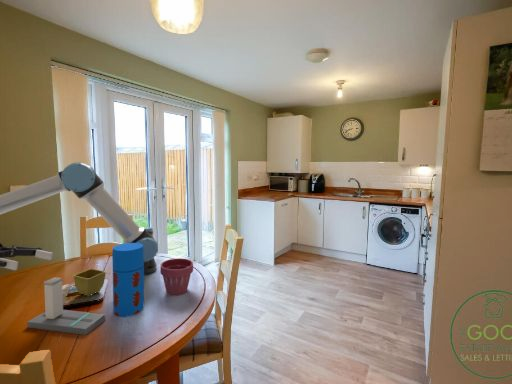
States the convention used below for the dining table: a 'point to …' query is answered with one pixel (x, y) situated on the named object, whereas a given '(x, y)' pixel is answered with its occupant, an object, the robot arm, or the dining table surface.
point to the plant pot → (176, 275)
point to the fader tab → (53, 297)
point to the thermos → (128, 279)
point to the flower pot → (89, 281)
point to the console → (68, 322)
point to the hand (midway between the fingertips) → (35, 260)
